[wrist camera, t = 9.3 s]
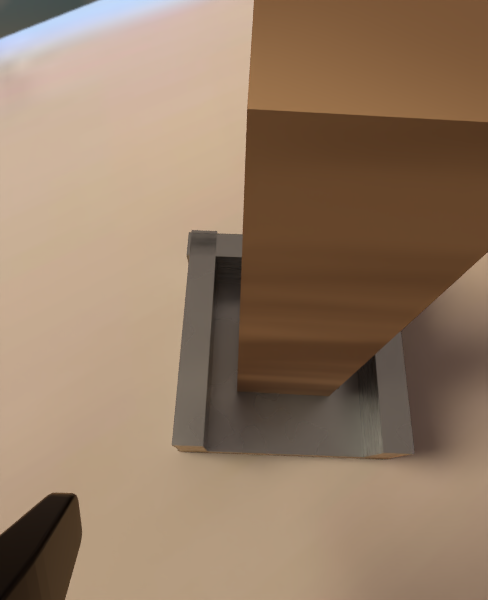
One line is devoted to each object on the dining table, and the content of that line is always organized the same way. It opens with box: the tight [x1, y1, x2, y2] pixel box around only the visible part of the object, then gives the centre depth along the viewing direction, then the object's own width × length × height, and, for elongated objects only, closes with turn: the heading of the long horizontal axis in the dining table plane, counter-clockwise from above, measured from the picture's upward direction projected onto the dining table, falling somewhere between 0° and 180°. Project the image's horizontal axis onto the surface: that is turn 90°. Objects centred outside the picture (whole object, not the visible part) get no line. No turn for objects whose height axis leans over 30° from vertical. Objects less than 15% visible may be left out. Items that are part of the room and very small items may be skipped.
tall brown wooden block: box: [237, 0, 488, 396], centre depth 11 cm, size 4×4×14 cm
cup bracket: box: [172, 230, 415, 459], centre depth 17 cm, size 8×8×3 cm
